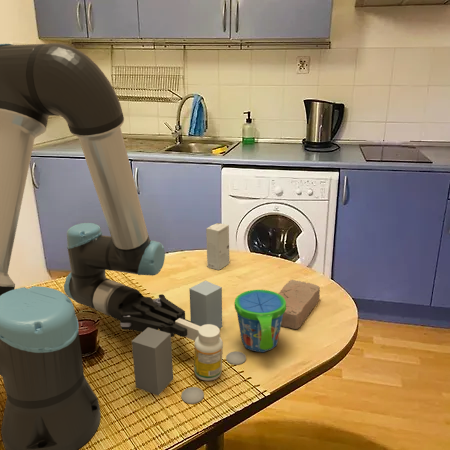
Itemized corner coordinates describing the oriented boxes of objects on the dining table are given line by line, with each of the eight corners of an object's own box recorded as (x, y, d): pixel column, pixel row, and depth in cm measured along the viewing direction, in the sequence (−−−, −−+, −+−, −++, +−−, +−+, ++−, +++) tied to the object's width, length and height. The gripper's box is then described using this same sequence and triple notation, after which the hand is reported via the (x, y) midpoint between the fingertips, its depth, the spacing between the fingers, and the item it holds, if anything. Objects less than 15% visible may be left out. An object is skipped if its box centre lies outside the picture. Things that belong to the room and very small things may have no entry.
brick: (289, 292, 119) (290, 276, 117) (320, 300, 115) (322, 283, 113) (263, 323, 105) (263, 305, 104) (297, 333, 101) (298, 314, 100)
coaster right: (238, 367, 90) (238, 366, 90) (222, 359, 92) (222, 358, 92) (249, 357, 93) (249, 355, 93) (233, 350, 95) (233, 349, 95)
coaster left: (194, 407, 79) (193, 405, 79) (176, 397, 82) (176, 396, 82) (208, 394, 82) (208, 392, 82) (191, 385, 85) (191, 384, 85)
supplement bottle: (216, 384, 85) (218, 342, 81) (189, 377, 86) (190, 335, 83) (225, 366, 90) (227, 325, 86) (199, 359, 91) (200, 319, 88)
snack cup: (234, 323, 105) (234, 283, 101) (280, 323, 105) (281, 283, 101) (234, 366, 90) (234, 321, 87) (288, 366, 90) (290, 321, 86)
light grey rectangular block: (207, 336, 100) (205, 295, 96) (190, 328, 103) (189, 288, 100) (222, 326, 103) (221, 287, 100) (206, 319, 107) (205, 280, 103)
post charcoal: (158, 395, 82) (154, 348, 79) (135, 387, 84) (131, 341, 81) (173, 379, 87) (170, 333, 83) (151, 371, 89) (148, 327, 85)
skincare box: (219, 270, 131) (218, 231, 127) (206, 267, 133) (205, 228, 129) (230, 263, 136) (230, 224, 132) (217, 259, 138) (217, 222, 134)
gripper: (141, 304, 108) (222, 336, 95) (97, 329, 98) (181, 369, 85) (139, 275, 105) (222, 304, 92) (93, 298, 95) (180, 334, 82)
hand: (202, 335), depth 89 cm, fingers closed
